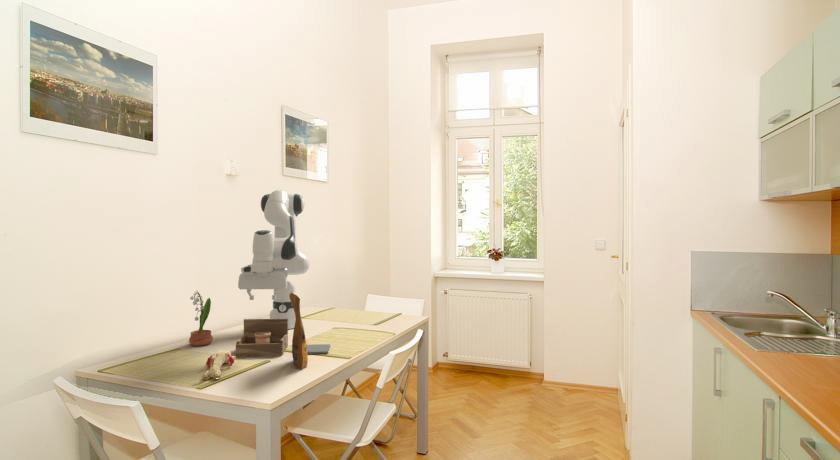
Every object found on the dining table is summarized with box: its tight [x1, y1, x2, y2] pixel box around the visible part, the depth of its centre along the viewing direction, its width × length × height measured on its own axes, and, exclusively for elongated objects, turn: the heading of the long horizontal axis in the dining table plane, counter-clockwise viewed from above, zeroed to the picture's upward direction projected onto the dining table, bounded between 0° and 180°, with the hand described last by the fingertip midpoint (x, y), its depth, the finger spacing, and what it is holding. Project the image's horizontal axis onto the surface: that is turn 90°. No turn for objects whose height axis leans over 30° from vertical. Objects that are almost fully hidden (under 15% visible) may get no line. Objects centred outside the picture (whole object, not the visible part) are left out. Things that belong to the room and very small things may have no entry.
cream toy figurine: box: [202, 349, 237, 381], centre depth 179 cm, size 10×9×25 cm
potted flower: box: [188, 290, 214, 347], centre depth 214 cm, size 12×10×25 cm
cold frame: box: [235, 318, 289, 358], centre depth 204 cm, size 14×19×13 cm
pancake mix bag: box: [289, 292, 309, 370], centre depth 187 cm, size 7×19×28 cm, turn 17°
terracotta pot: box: [254, 331, 271, 344], centre depth 204 cm, size 7×7×8 cm
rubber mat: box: [307, 343, 331, 355], centre depth 207 cm, size 12×11×1 cm
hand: (262, 299), depth 204 cm, fingers open, 8 cm apart
